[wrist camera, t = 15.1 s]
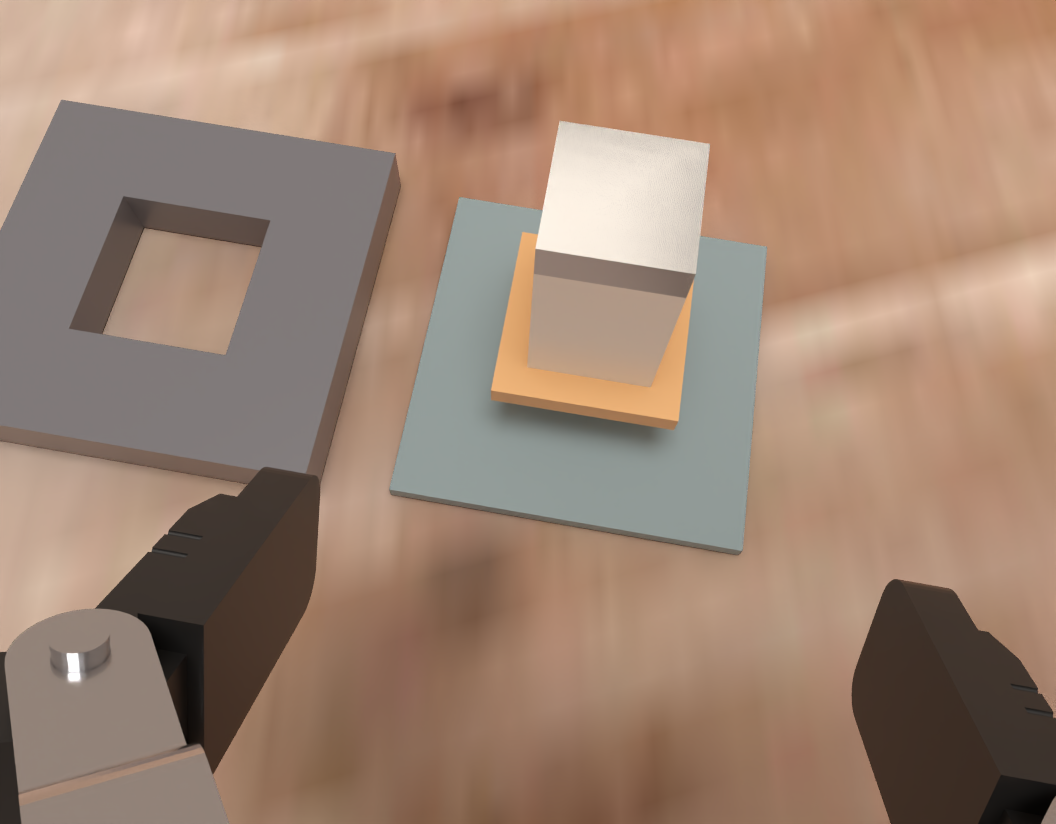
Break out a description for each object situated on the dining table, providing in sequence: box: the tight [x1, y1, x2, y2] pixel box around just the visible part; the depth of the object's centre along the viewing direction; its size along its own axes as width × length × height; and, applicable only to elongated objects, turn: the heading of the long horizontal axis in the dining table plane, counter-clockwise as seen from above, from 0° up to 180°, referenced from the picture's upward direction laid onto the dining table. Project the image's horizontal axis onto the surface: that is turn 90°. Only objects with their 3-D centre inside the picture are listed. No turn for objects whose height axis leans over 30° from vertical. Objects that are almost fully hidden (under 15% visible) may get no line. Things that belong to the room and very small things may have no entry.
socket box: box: [0, 100, 401, 484], centre depth 32 cm, size 13×13×2 cm
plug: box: [491, 121, 710, 430], centre depth 27 cm, size 6×6×10 cm
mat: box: [389, 197, 767, 555], centre depth 32 cm, size 12×12×1 cm
